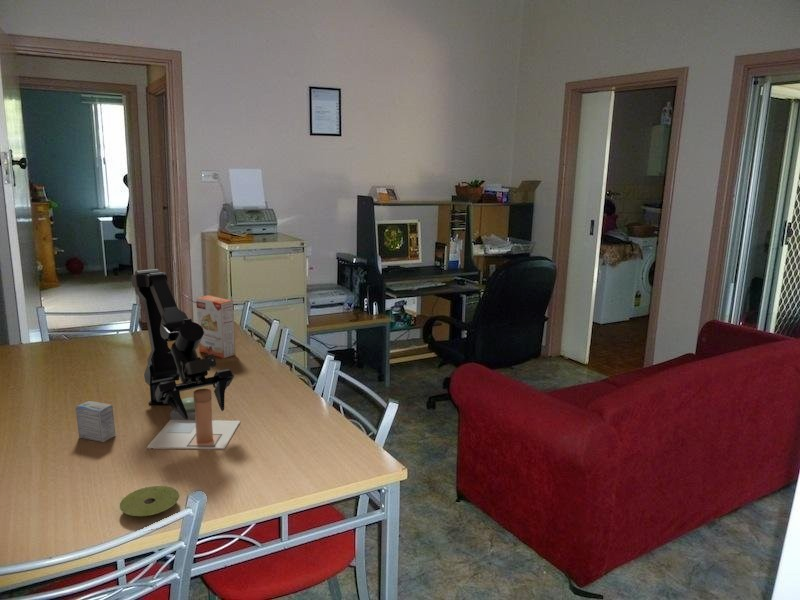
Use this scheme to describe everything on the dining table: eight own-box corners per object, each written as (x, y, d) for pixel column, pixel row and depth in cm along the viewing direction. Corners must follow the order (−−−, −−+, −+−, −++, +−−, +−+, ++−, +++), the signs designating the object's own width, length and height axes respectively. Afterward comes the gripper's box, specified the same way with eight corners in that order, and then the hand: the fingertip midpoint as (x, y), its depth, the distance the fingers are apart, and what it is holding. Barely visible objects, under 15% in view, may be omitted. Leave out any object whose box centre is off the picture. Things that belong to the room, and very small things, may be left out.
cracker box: (198, 352, 222) (195, 297, 217) (211, 348, 227) (208, 294, 222) (222, 359, 214) (220, 302, 210) (236, 355, 219) (233, 299, 214)
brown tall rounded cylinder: (192, 442, 150) (189, 393, 147) (202, 435, 154) (200, 387, 151) (207, 444, 149) (204, 395, 146) (216, 437, 153) (214, 389, 150)
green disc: (138, 491, 128) (137, 483, 128) (189, 495, 127) (188, 487, 127) (108, 522, 117) (108, 513, 117) (163, 526, 116) (163, 517, 116)
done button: (177, 414, 164) (176, 404, 164) (183, 407, 169) (183, 397, 168) (195, 414, 164) (195, 404, 164) (201, 407, 169) (200, 397, 169)
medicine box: (116, 435, 154) (113, 404, 152) (102, 443, 150) (99, 411, 148) (92, 431, 156) (89, 399, 154) (78, 438, 152) (74, 406, 150)
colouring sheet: (147, 448, 147) (146, 446, 147) (170, 421, 163) (170, 419, 163) (224, 449, 148) (224, 447, 148) (240, 422, 163) (240, 420, 163)
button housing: (170, 421, 163) (169, 412, 163) (180, 409, 171) (179, 401, 170) (199, 421, 163) (199, 413, 163) (208, 409, 171) (208, 401, 170)
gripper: (155, 351, 143) (173, 409, 137) (229, 339, 155) (249, 392, 149) (147, 373, 151) (164, 429, 145) (218, 359, 163) (237, 411, 157)
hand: (205, 414), depth 149 cm, fingers open, 9 cm apart
